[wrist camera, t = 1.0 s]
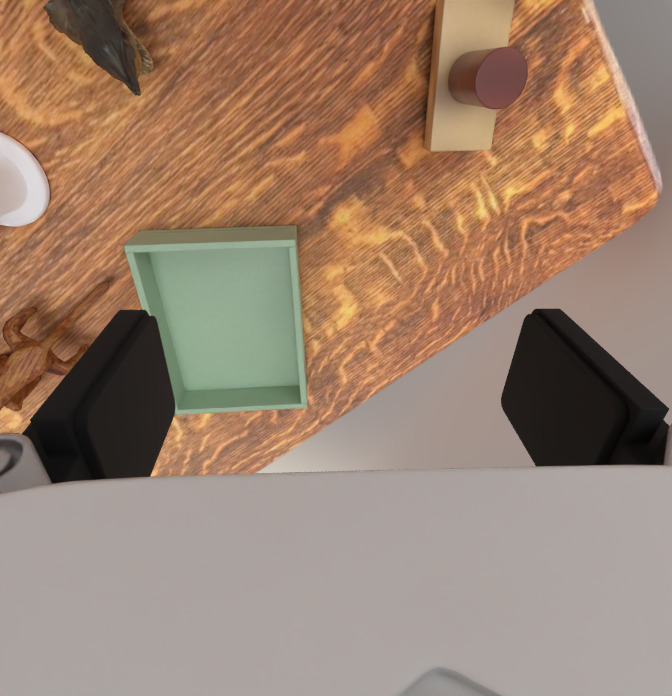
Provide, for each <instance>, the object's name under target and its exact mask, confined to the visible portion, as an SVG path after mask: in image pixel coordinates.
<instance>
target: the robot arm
mask: <svg viewBox="0 0 672 696" xmlns="http://www.w3.org/2000/svg"><path fill="white" fill-rule="evenodd" d="M501 404H502V408H503V411H504V412H505V414H506V416H507V417H508V419H509V421H510V422H511V424H512V426H513V428H514V429H515V431H516V433H517V434H518V436H519V438H520V440H521V441H522V443H523V445H524V446H525V448H526V450H527V451H528V453H529V455H530V456H531V458H532V460H533V462H534V463H535V465H536V466H535V467H491V468H490V467H489V468H446V469H404V470H369V471H368V470H366V471H331V472H295V473H294V472H293V473H257V474H224V475H191V476H158V477H150V475H151V473H152V470H153V468H154V465H155V463H156V460H157V458H158V455H159V453H160V450H161V448H162V445H163V442H164V440H165V437H166V435H167V432H168V430H169V427H170V425H171V422H172V420H173V417H174V414H175V407H176V406H175V398H174V394H173V389H172V385H171V380H170V376H169V371H168V367H167V363H166V358H165V354H164V349H163V345H162V340H161V336H160V331H159V327H158V322H157V319H156V317H155V316H149V314H148V312H147V311H146V310H120V311H118V312H117V314H116V315H115V316H114V317H113V319H112V320H111V321H110V322H109V323H108V325H107V326H106V327H105V328H104V330H103V331H102V332H101V333H100V335H99V336H98V337H97V338H96V339H95V341H94V342H93V343H92V344H91V346H90V347H89V348H88V349H87V351H86V352H85V353H84V354H83V355H82V357H81V358H80V359H79V360H78V362H77V363H76V364H75V365H74V367H73V368H72V369H71V370H70V371H69V373H68V374H67V375H66V376H65V378H64V379H63V380H62V381H61V383H60V384H59V385H58V386H57V387H56V389H55V390H54V391H53V392H52V394H51V395H50V396H49V397H48V398H47V400H46V401H45V402H44V403H43V405H42V406H41V407H40V408H39V410H38V411H37V412H36V413H35V414H34V416H33V417H32V418H31V419H30V421H31V423H30V425H29V426H28V427H27V428H26V430H25V431H24V432H23V433H22V434H19V433H1V434H0V696H672V424H671V425H670V426H669V425H668V424H667V423H666V422H665V421H664V420H663V419H664V417H665V415H666V414H667V412H668V410H669V408H668V407H667V406H666V405H664V404H663V403H662V402H661V401H660V400H659V399H658V398H657V397H655V395H654V394H652V393H651V392H650V391H649V390H648V389H647V388H646V387H645V386H644V385H643V384H641V383H640V382H639V381H638V380H637V379H636V378H635V377H634V376H633V375H632V374H631V373H630V372H628V371H627V370H626V369H625V368H624V367H623V366H622V365H621V364H620V363H618V361H616V360H615V359H614V358H613V357H612V356H611V355H610V354H609V353H608V352H607V351H606V350H604V349H603V348H602V347H601V346H600V345H599V344H598V343H597V342H596V341H595V340H593V339H592V338H591V337H590V336H589V335H588V334H587V333H586V332H585V331H584V330H583V329H582V328H580V327H579V326H578V325H577V324H576V323H575V322H574V321H573V320H572V319H571V318H569V317H568V316H567V315H566V314H565V313H564V312H563V311H561V310H560V309H535V310H534V311H533V312H532V313H531V314H528V315H527V316H526V317H525V319H524V322H523V325H522V328H521V332H520V335H519V339H518V342H517V345H516V349H515V352H514V356H513V359H512V362H511V366H510V369H509V373H508V376H507V380H506V383H505V386H504V390H503V393H502V397H501Z"/></svg>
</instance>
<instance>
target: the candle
mask: <svg viewBox="0 0 672 696" xmlns="http://www.w3.org/2000/svg"><path fill="white" fill-rule="evenodd" d="M49 199H50V190H49V184H48V180H47V177H46V175H45V172H44V170H43V169H42V167H41V165H40V164H39V162H38V161H37V159H36V158H35V157H34V156H33V155H32V153H31V152H30V151H29V150H28V149H26V148H25V147H24V146H23V145H22V144H20V143H19V142H18V141H16V140H15V139H13V138H11V137H10V136H8V135H6V134H3V133H1V132H0V225H4V226H23V225H27V224H29V223H32V222H34V221H35V220H37V219H38V218H40V217H41V216H42V215H43V213H44V212H45V211H46V209H47V207H48V204H49Z"/></svg>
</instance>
